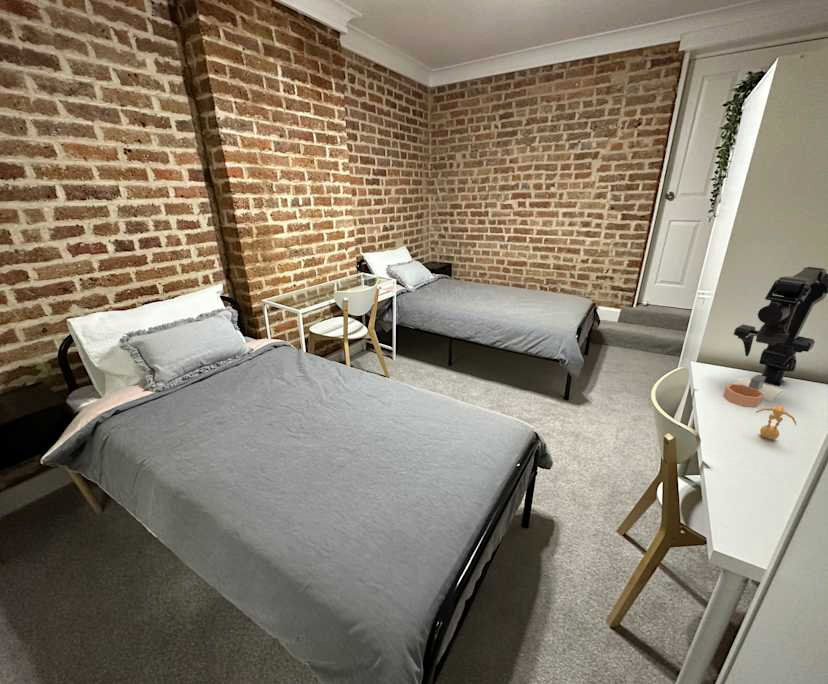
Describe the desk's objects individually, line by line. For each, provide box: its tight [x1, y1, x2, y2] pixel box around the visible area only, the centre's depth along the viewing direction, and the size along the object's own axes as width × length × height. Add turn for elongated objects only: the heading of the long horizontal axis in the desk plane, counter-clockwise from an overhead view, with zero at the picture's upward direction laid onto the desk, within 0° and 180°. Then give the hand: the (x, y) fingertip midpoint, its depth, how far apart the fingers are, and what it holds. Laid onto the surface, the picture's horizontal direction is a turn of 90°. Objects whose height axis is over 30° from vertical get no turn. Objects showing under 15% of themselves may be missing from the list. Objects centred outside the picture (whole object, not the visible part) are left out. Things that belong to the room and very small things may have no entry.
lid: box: [730, 374, 783, 403], centre depth 130 cm, size 12×12×5 cm
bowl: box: [722, 383, 764, 409], centre depth 124 cm, size 9×9×4 cm
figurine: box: [755, 404, 797, 440], centre depth 103 cm, size 8×6×12 cm
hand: (763, 360), depth 124 cm, fingers open, 9 cm apart
